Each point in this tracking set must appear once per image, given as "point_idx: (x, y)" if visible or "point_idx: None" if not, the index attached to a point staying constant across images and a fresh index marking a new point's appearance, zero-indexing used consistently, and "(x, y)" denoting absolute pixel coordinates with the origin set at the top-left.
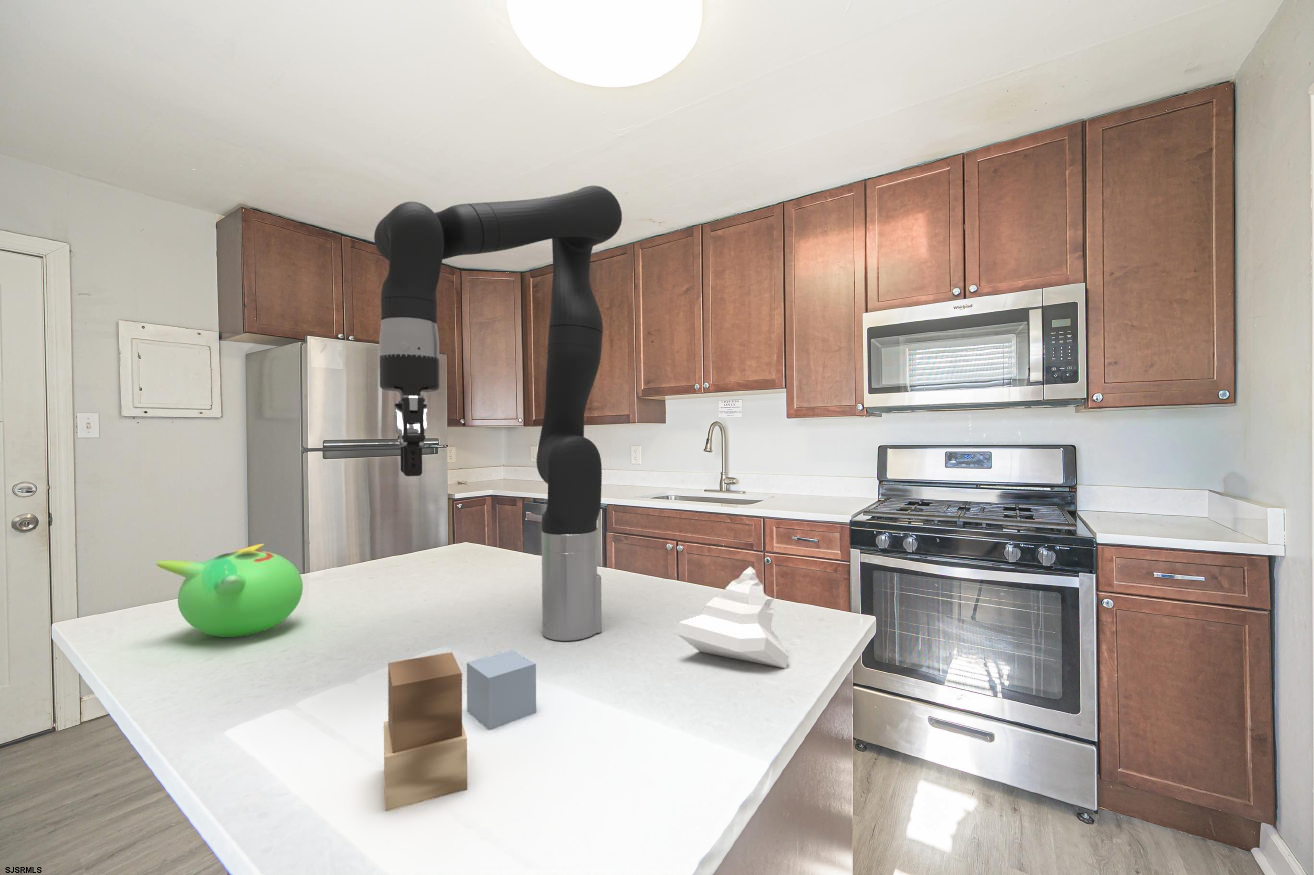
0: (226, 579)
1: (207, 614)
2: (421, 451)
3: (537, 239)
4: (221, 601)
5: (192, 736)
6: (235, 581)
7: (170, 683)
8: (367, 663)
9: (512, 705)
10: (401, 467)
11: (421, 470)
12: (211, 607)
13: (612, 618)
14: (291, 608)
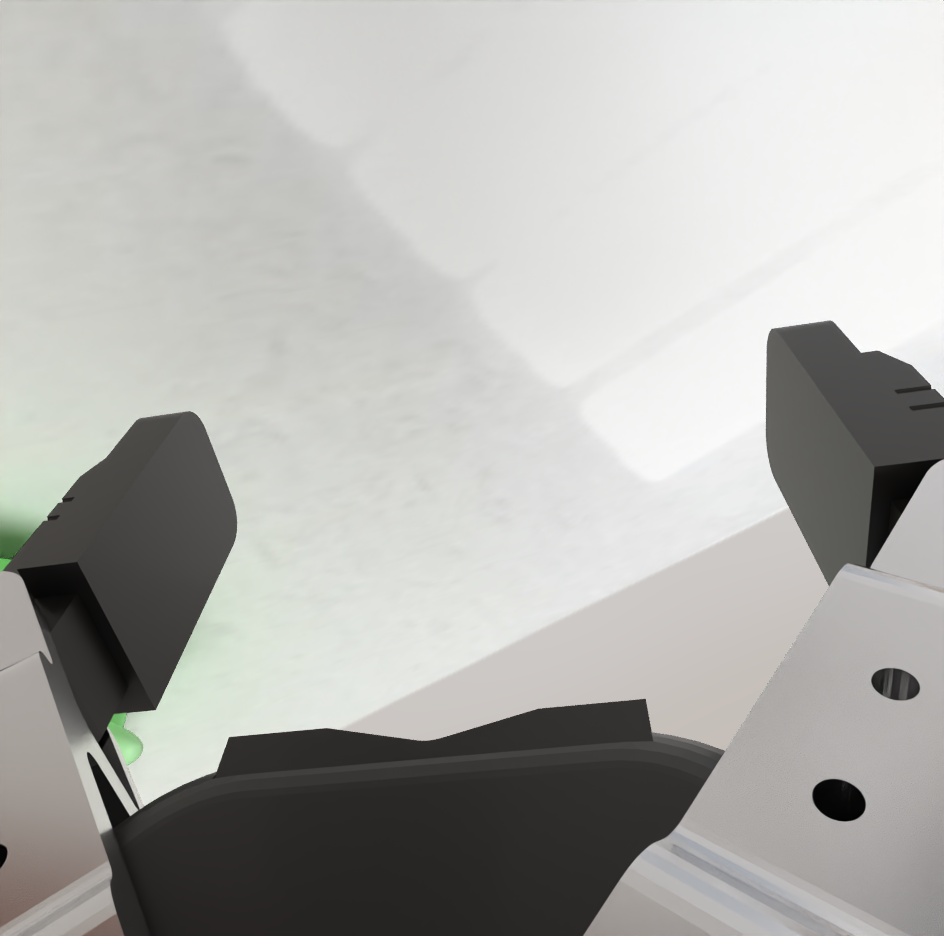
0: (134, 760)
1: (125, 718)
2: (928, 434)
3: None
4: (115, 720)
5: (648, 527)
6: (133, 738)
7: (356, 646)
8: (331, 270)
9: None
10: (229, 550)
11: (841, 335)
12: (121, 725)
13: None
14: (4, 564)
